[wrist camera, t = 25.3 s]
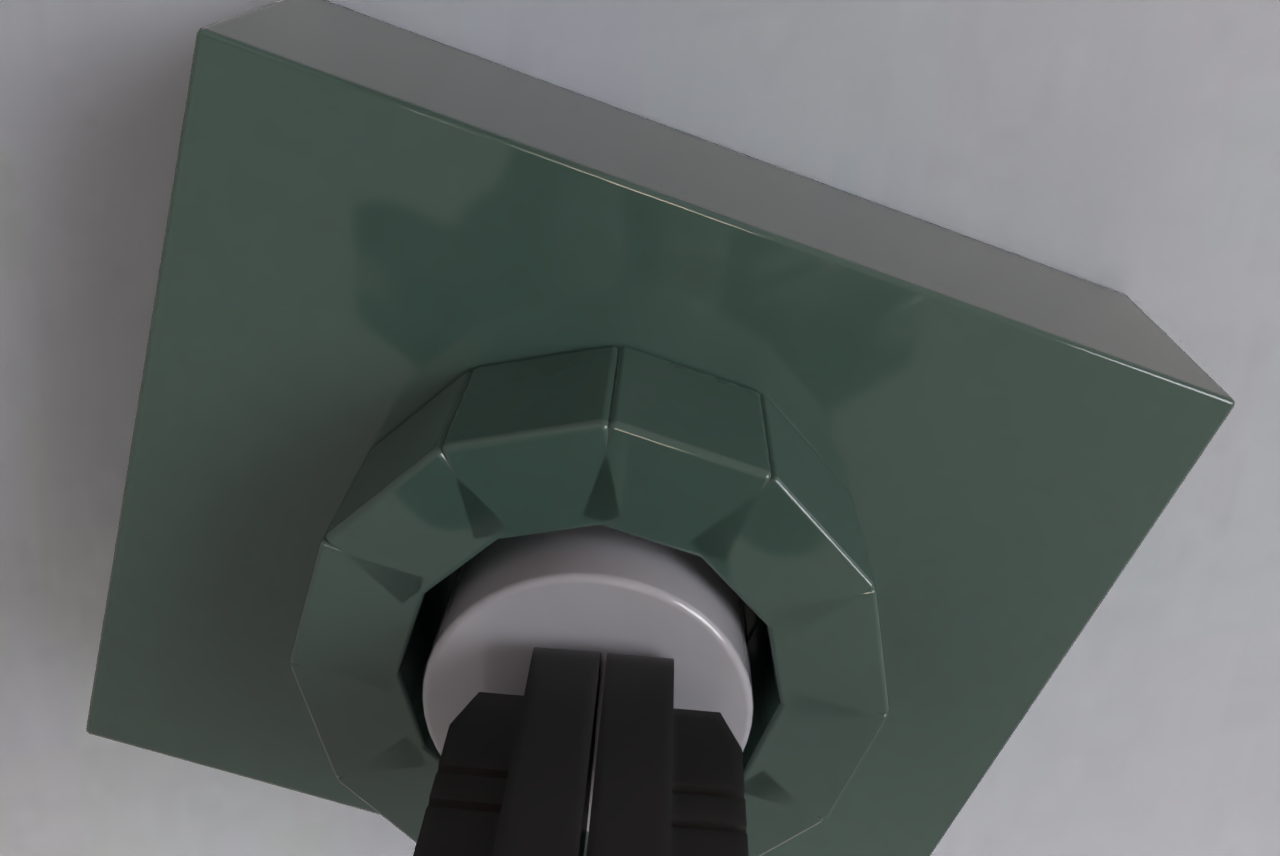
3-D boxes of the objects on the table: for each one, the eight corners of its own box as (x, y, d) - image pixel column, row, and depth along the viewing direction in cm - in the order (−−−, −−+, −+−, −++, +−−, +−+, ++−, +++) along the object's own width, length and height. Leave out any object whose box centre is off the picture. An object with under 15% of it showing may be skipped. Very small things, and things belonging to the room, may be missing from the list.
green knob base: (183, 588, 19) (5, 847, 14) (302, -10, 14) (103, 57, 9) (839, 783, 20) (888, 1079, 15) (1130, 295, 16) (1331, 491, 11)
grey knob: (423, 667, 14) (385, 784, 12) (501, 436, 13) (470, 532, 11) (684, 744, 15) (684, 869, 13) (790, 531, 13) (807, 637, 11)
